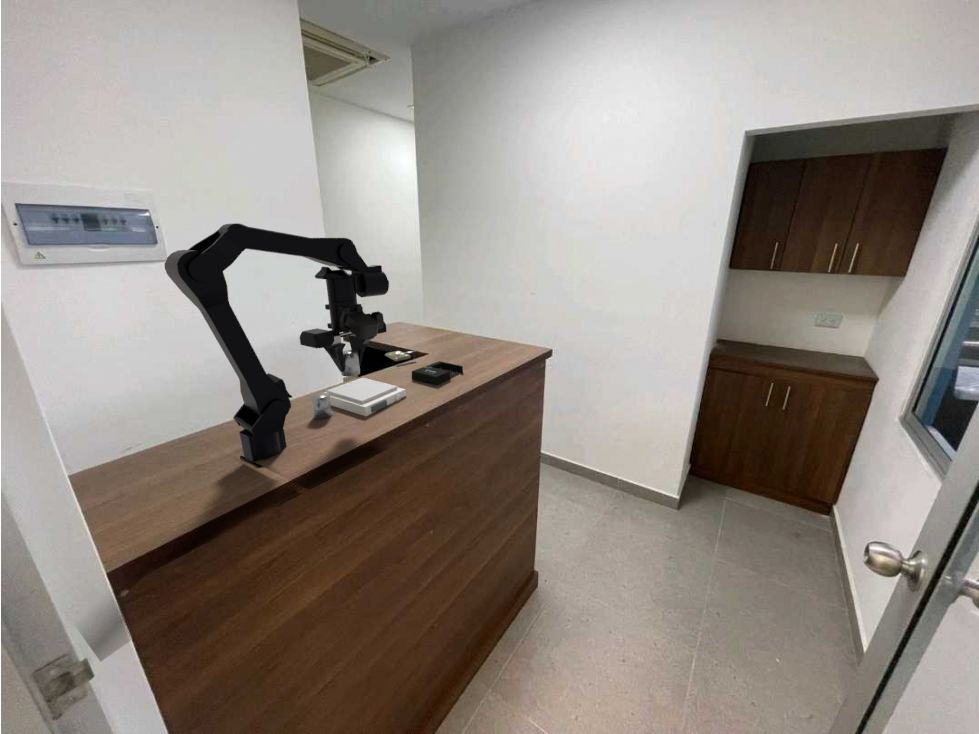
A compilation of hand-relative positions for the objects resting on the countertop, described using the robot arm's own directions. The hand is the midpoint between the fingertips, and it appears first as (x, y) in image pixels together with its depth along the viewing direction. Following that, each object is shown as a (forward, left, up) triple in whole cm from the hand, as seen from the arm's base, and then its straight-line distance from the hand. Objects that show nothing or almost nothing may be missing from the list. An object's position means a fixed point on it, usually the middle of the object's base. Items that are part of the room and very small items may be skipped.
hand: (350, 369), depth 86 cm
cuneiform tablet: (+38, +17, -10) cm, 43 cm away
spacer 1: (-3, +8, -12) cm, 15 cm away
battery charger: (+32, 0, -13) cm, 35 cm away
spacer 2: (0, 0, -1) cm, 1 cm away
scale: (+9, +7, -12) cm, 17 cm away
